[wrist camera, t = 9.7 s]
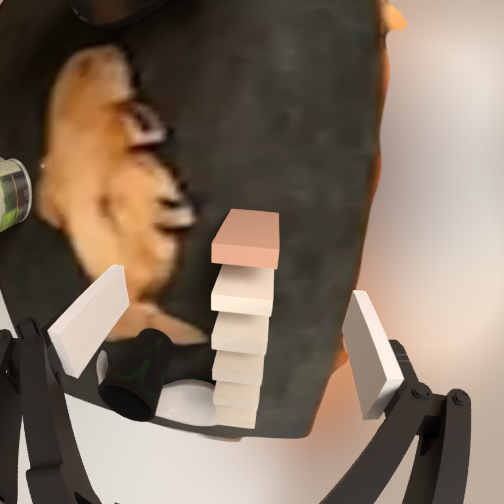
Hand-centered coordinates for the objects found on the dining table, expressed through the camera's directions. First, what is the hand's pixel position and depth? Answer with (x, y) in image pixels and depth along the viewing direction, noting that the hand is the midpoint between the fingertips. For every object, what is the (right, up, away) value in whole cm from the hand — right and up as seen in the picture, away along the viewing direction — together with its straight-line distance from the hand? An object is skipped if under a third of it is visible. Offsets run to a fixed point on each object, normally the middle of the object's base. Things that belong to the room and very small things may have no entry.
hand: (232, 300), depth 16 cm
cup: (-13, -11, +24) cm, 29 cm away
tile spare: (+1, +6, +15) cm, 16 cm away
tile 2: (+1, -2, +19) cm, 19 cm away
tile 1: (+1, +2, +17) cm, 17 cm away
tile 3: (0, -6, +20) cm, 21 cm away
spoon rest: (-13, -19, +27) cm, 36 cm away
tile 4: (0, -10, +22) cm, 24 cm away
